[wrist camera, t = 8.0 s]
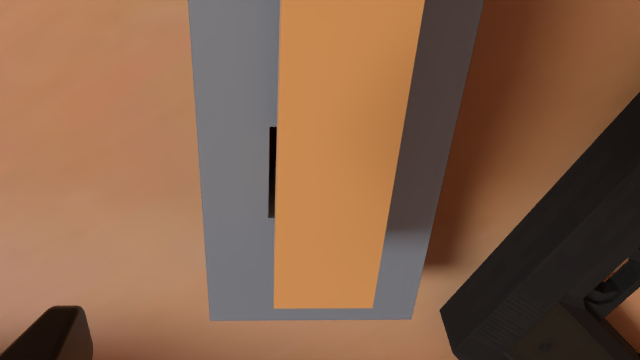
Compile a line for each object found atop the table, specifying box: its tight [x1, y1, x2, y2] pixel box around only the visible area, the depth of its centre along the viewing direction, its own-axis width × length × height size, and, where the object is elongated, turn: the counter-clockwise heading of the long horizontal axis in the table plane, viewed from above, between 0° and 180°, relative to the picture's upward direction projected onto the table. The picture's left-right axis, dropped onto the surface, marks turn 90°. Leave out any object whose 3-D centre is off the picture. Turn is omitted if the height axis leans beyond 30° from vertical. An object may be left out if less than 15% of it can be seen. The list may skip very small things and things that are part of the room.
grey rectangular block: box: [188, 0, 484, 321], centre depth 18 cm, size 22×8×3 cm, turn 176°
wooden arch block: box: [274, 0, 425, 309], centre depth 16 cm, size 13×3×6 cm, turn 176°
